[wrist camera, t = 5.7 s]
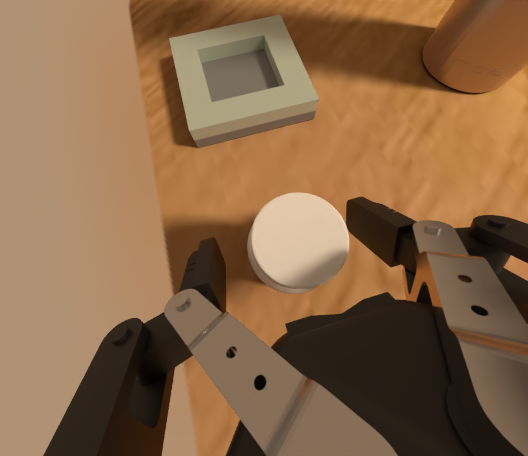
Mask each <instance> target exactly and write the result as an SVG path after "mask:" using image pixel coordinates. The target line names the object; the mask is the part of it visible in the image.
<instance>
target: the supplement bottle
mask: <svg viewBox="0 0 528 456" xmlns="http://www.w3.org/2000/svg"><path fill="white" fill-rule="evenodd" d="M348 251H349V235H348V230H347V227H346V225H345V222H344V220H343V219H342V217H341V215H340V214H339V212H338V211H337V210H336V209H335V208H334V207H333V206H332V205H331V204H329V203H328V202H327V201H325V200H323V199H322V198H320V197H317V196H315V195H312V194H307V193H288V194H284V195H281V196H278V197H276V198H274V199H273V200H271V201H270V202H268V203H267V204H266V205H265V206H264V207H263V208H262V209H261V210H260V211H259V213H258V214H257V216H256V218H255V220H254V223H253V225H252V228H251V230H250V233H249V236H248V241H247V252H248V258H249V261H250V264H251V267H252V269H253V270H254V272H255V273H256V275H257V276H258V277H259V278H260V279H261V280H262V281H263V282H264V283H265V284H266V285H268V286H269V287H271V288H273V289H274V290H277V291H279V292H283V293H288V294H300V293H305V292H309V291H312V290H314V289H316V288H317V287H319V286H320V285H323V284H325V283H326V282H328V281H329V280H331V279H332V278H333V277H334V276H336V275H337V273H338V272H339V271H340V270H341V268H342V267H343V265H344V263H345V261H346V258H347V255H348Z"/></svg>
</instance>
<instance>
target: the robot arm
mask: <svg viewBox="0 0 528 456" xmlns="http://www.w3.org/2000/svg"><path fill="white" fill-rule="evenodd" d="M422 59H423V62H424V65H425V66H426V68H427V70H428V71H429V72H430V73H431V75H432V76H433V77H435V78H436V79H437V80H438V81H440V82H441V83H443V84H445V85H447V86H449V87H451V88H454V89H457V90H460V91H465V92H472V93H481V92H488V91H492V90H495V89H497V88H499V87H500V86H502V85H503V84H505V83H506V82H507V81H508V80H509V79H511V78H512V77H513V76H514V75H516V74H517V73H518V72H519V71H520V70H522V69H523V68H524V67H525V66H527V65H528V0H454V2H453V3H452V5H451V6H450V8H449V9H448V11H447V12H446V14H445V15H444V17H443V18H442V20H441V21H440V23H439V24H438V26H437V27H436V29H435V30H434V32H433V33H432V35H431V36H430V38H429V39H428V41H427V42H426V44H425V45H424V48H423V50H422ZM346 225H347V229H348V230H349V232H350V233H351V234H352V235H353V236H355V237H356V238H357V239H358V240H359V241H360V242H362V243H363V244H364V245H365V246H366V247H367V248H369V249H370V250H371V251H372V252H373V253H374V254H376V255H377V256H378V257H379V258H380V259H381V260H383V261H384V262H385V263H386V264H387V265H388V266H390V267H394V266H397V265H401V264H402V265H403V270H402V273H403V280H404V287H405V295H406V300H395V299H394V298H393V297H392V296H391V295H390V294H389V293H388V292H386V293H383V294H379V295H376V296H373V297H370V298H367V299H363V300H362V301H360V302H359V303H357V304H356V305H354V306H353V307H351V308H350V309H348V310H347V311H345V312H344V313H342V314H334V315H317V316H309V317H306V318H303V319H299V320H296V321H293V322H290V323H286V324H285V325H286V328H287V333H286V334H284V335H283V336H282V337H280V338H279V339H278V340H277V341H276V342H275V343H274V344H273V346H272V347H271V348H270V347H269V346H268V345H267V344H265V343H264V342H263V341H262V340H261V339H260V338H258V337H257V336H256V335H255V334H254V333H252V332H251V331H250V330H249V329H248V328H246V327H245V326H244V325H243V324H242V323H241V322H239V321H238V320H237V319H236V318H235V317H233V316H232V315H231V314H230V313H228V312H227V311H226V266H225V262H224V258H223V256H222V254H221V251H220V249H219V246H218V244H217V242H216V239H215V238H214V237H213V238H209V239H206V240H202V241H201V242H200V246H199V251H195V252H193V253H192V255H191V256H190V257H189V259H188V262H187V267H186V270H185V273H184V277H183V281H182V285H181V288H180V292H179V293H177V294H176V295H175V296H173V297H172V298H171V299H170V301H169V302H168V303H167V305H166V307H165V310H164V312H163V313H162V314H160V315H159V316H157V317H155V318H153V319H151V320H149V321H148V322H146V323H143V322H142V321H141V320H140V319H138V318H131V319H128V320H126V321H124V322H122V323H120V324H119V325H117V326H116V327H115V328H113V329H112V330H111V331H110V332H109V333H108V334H107V336H106V337H105V338H104V339H103V341H102V343H101V345H100V346H99V348H98V350H97V352H96V354H95V356H94V358H93V360H92V362H91V364H90V366H89V368H88V370H87V372H86V374H85V376H84V378H83V380H82V382H81V383H80V385H79V387H78V389H77V391H76V393H75V395H74V397H73V399H72V401H71V403H70V405H69V407H68V409H67V411H66V413H65V415H64V417H63V419H62V421H61V422H60V425H59V426H58V428H57V430H56V432H55V434H54V436H53V438H52V440H51V442H50V444H49V446H48V448H47V450H46V452H45V454H44V456H161V455H162V448H163V442H164V435H165V429H166V422H167V416H168V409H169V403H170V396H171V390H172V383H173V376H174V370H175V367H176V366H178V365H179V364H180V363H182V362H184V361H185V360H187V359H188V358H190V357H191V356H193V355H194V357H195V358H196V359H197V361H198V362H199V364H200V365H201V366H202V368H203V369H204V370H205V372H206V373H207V375H208V376H209V377H210V379H211V380H212V381H213V383H214V384H215V385H216V387H217V388H218V390H219V391H220V392H221V394H222V395H223V396H224V398H225V399H226V401H227V402H228V403H229V405H230V406H231V407H232V409H233V410H234V411H235V413H236V414H237V416H238V417H239V418H240V421H239V423H238V426H237V428H236V431H235V433H234V436H233V439H232V441H231V444H230V446H229V449H228V451H227V454H226V456H528V325H527V324H528V281H527V280H525V279H523V278H521V277H519V276H517V275H516V274H514V273H512V272H510V271H508V270H506V269H505V268H503V267H504V266H505V264H506V262H507V261H508V259H509V258H510V256H511V255H512V256H514V257H516V258H518V259H520V260H522V261H524V262H526V263H528V224H526V223H523V222H521V221H518V220H515V219H512V218H508V217H503V216H496V215H483V216H478V217H475V218H474V219H473V222H472V224H471V226H470V227H467V228H453V227H452V226H450V225H448V224H446V223H443V222H439V221H431V220H425V221H419V222H417V221H415V220H413V219H411V218H409V217H407V216H405V215H403V214H401V213H399V212H396V211H395V210H393V209H390V208H389V207H387V206H385V205H383V204H379V203H375V202H372V201H370V200H368V199H366V198H364V197H357V198H354V199H350V200H348V201H347V206H346Z"/></svg>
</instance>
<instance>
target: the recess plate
mask: <svg viewBox="0 0 528 456" xmlns="http://www.w3.org/2000/svg"><path fill="white" fill-rule="evenodd" d="M169 40H170V45H171V50H172V54H173V59H174V63H175V68H176V73H177V77H178V82H179V87H180V91H181V96H182V100H183V105H184V110H185V114H186V119H187V123H188V128H189V132H190V133H191V135H192V137H193V139H194V141H195V143H196V145H197V147H198V148H200V147H204V146H208V145H212V144H216V143H220V142H224V141H228V140H232V139H236V138H240V137H244V136H248V135H252V134H256V133H259V132H263V131H267V130H271V129H275V128H279V127H283V126H287V125H291V124H295V123H299V122H303V121H307V120H311V119H314V115H315V112H316V109H317V105H318V102H319V97H318V95H317V93H316V91H315V89H314V87H313V84H312V82H311V80H310V78H309V76H308V74H307V71H306V69H305V67H304V65H303V63H302V61H301V58H300V56H299V54H298V52H297V50H296V48H295V45H294V43H293V41H292V39H291V37H290V35H289V32H288V30H287V28H286V26H285V24H284V22H283V19H282V17H281V15H275V16H270V17H266V18H261V19H256V20H252V21H247V22H242V23H238V24H233V25H229V26H224V27H219V28H215V29H210V30H205V31H201V32H196V33H192V34H187V35H182V36H178V37H173V38H169Z"/></svg>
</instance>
